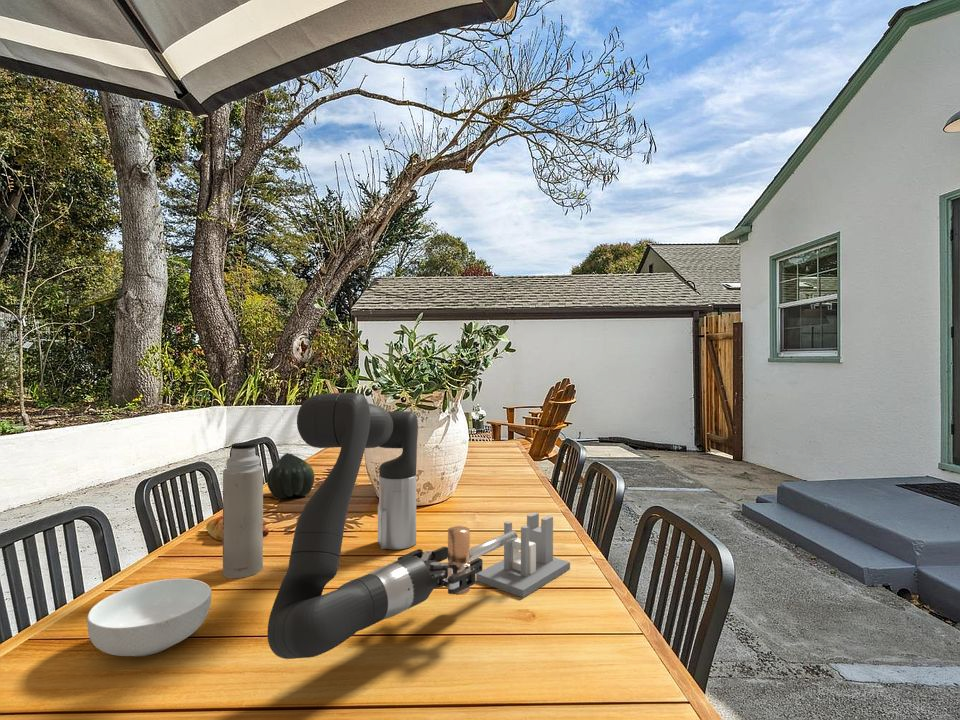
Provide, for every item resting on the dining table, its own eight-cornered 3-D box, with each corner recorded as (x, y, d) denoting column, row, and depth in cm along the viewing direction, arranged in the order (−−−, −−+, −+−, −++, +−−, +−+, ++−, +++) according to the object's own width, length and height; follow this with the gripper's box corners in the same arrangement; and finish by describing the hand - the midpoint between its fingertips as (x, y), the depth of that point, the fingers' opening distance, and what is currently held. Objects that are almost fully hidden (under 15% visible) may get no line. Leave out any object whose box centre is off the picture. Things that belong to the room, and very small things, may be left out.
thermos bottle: (216, 579, 106) (216, 446, 106) (231, 564, 114) (231, 440, 114) (255, 577, 107) (255, 445, 107) (267, 562, 115) (268, 440, 115)
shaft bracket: (523, 598, 98) (523, 538, 98) (476, 580, 106) (476, 525, 106) (570, 568, 112) (570, 517, 112) (525, 555, 119) (525, 506, 120)
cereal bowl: (70, 686, 71) (70, 636, 71) (103, 629, 86) (104, 587, 86) (206, 658, 78) (206, 612, 78) (215, 609, 93) (215, 571, 93)
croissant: (198, 547, 133) (185, 525, 130) (225, 520, 142) (214, 498, 138) (260, 557, 126) (248, 533, 122) (285, 527, 134) (274, 504, 131)
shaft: (459, 596, 90) (459, 535, 90) (443, 590, 92) (443, 530, 92) (521, 564, 104) (521, 511, 104) (505, 559, 107) (506, 507, 107)
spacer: (530, 574, 105) (530, 545, 105) (507, 566, 109) (507, 539, 109) (535, 571, 107) (535, 543, 107) (513, 564, 111) (513, 536, 111)
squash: (310, 485, 164) (312, 446, 173) (261, 489, 161) (266, 449, 170) (315, 505, 174) (316, 467, 184) (269, 509, 171) (273, 470, 181)
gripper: (427, 576, 77) (493, 546, 89) (368, 553, 86) (436, 529, 98) (426, 625, 77) (493, 589, 89) (368, 597, 86) (436, 567, 98)
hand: (463, 557), depth 94 cm, fingers open, 8 cm apart
